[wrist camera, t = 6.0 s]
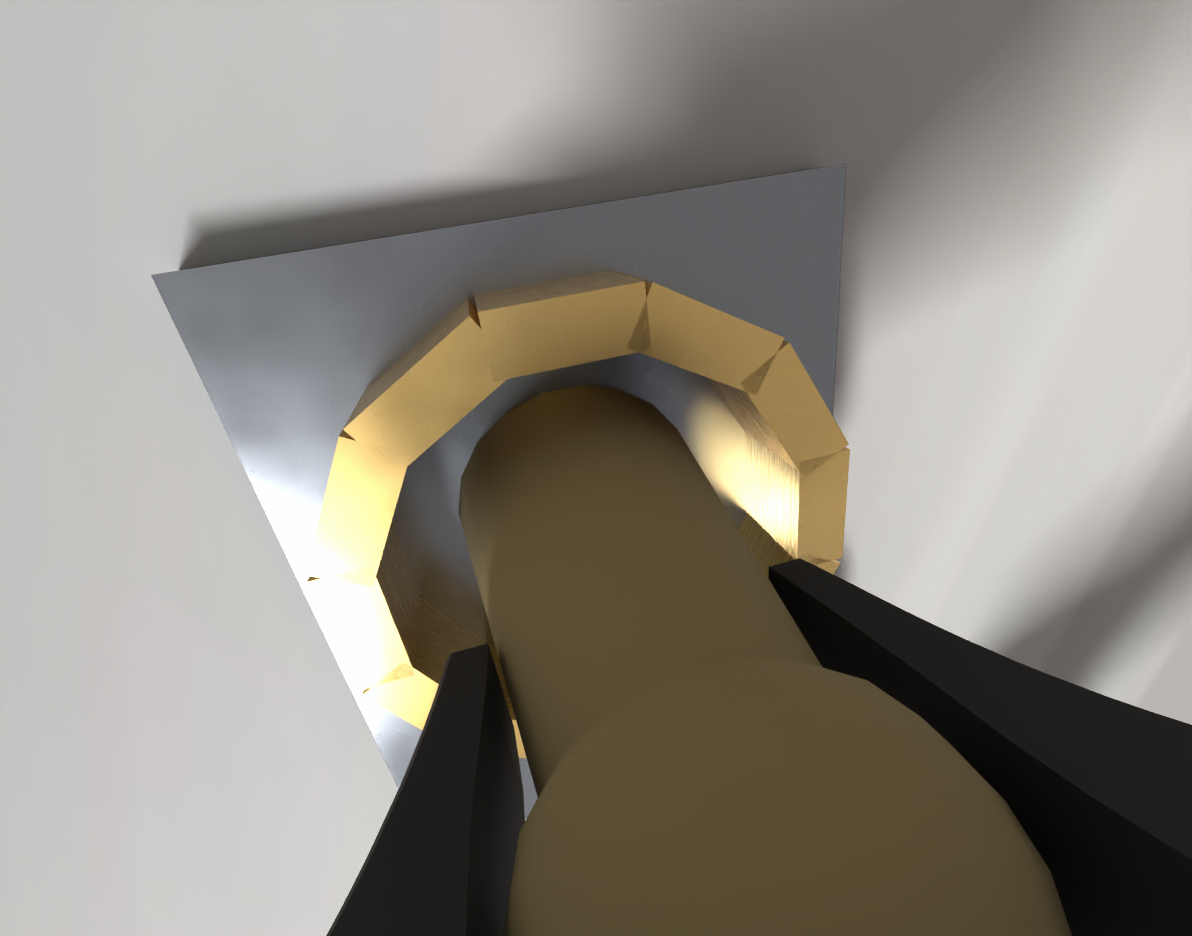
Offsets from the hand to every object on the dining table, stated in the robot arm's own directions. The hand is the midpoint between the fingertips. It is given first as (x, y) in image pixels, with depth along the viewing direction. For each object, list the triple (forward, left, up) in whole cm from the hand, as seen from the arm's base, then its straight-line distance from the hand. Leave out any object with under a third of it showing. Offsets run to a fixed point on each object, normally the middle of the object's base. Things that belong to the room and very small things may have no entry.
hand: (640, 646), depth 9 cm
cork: (0, 0, -5) cm, 5 cm away
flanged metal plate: (-2, 0, -6) cm, 6 cm away
